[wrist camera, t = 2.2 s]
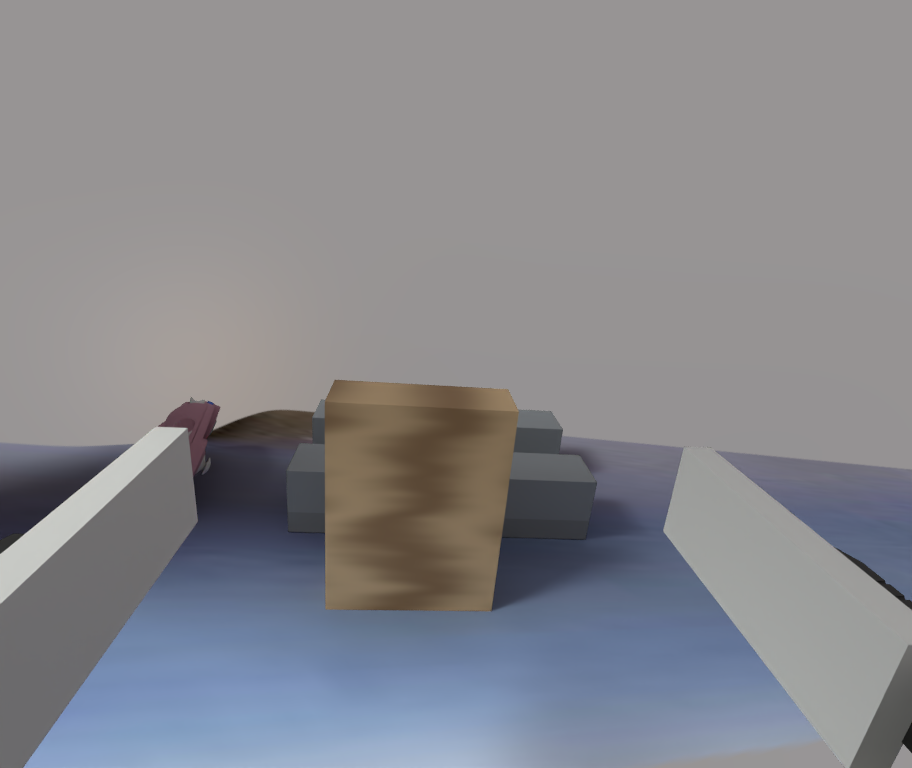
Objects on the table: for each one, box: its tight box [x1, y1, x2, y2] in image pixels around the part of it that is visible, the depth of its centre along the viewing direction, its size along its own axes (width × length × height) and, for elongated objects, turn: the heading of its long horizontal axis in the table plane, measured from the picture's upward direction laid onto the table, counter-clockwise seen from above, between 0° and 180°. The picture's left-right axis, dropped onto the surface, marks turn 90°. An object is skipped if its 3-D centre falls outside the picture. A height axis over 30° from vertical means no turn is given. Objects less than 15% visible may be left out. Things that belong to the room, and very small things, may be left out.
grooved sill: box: [286, 400, 597, 539], centre depth 38 cm, size 20×12×4 cm, turn 94°
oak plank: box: [325, 380, 519, 611], centre depth 26 cm, size 9×3×12 cm, turn 94°
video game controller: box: [158, 397, 220, 477], centre depth 36 cm, size 10×5×7 cm, turn 17°
